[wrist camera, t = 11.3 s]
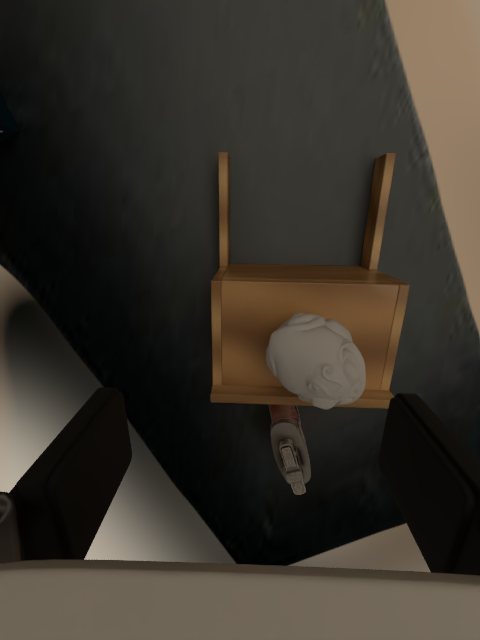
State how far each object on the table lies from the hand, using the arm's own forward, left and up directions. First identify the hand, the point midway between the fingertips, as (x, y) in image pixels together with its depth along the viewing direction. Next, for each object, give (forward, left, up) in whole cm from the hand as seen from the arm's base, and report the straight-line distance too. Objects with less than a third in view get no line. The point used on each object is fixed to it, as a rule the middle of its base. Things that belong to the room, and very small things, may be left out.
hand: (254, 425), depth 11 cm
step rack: (-2, +4, -23) cm, 24 cm away
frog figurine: (+2, +4, -14) cm, 15 cm away
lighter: (+16, +4, -23) cm, 29 cm away
